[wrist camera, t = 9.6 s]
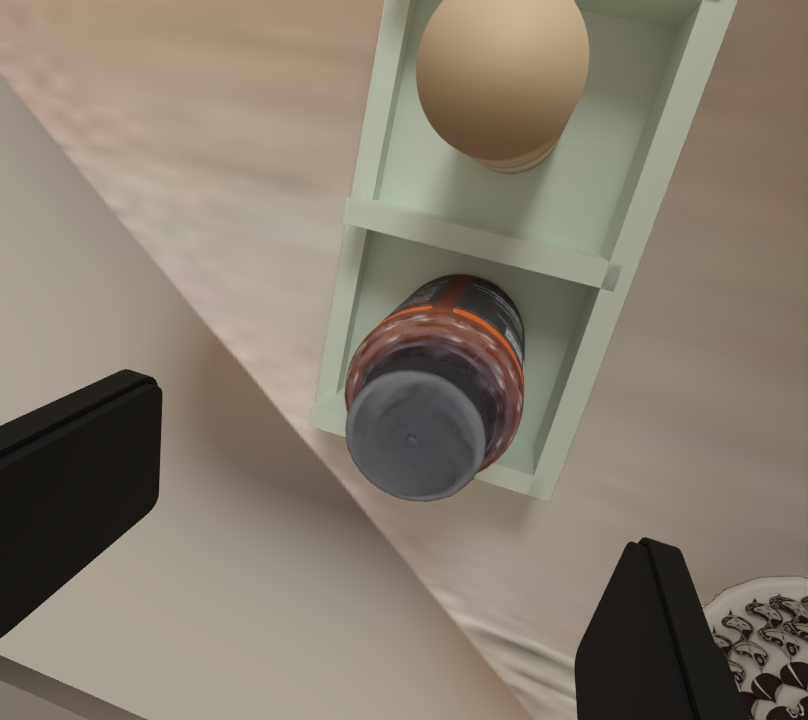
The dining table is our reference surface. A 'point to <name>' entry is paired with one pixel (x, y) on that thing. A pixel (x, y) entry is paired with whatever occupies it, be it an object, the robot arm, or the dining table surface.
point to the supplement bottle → (437, 389)
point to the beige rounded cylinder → (502, 77)
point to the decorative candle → (765, 644)
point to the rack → (522, 211)
